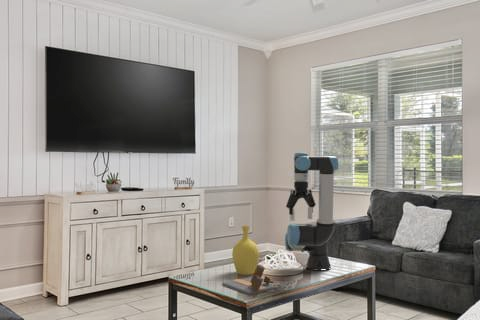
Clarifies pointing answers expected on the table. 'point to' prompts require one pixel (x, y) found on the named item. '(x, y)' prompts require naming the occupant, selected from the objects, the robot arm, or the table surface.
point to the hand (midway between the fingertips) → (301, 219)
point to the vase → (245, 254)
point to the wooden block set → (258, 278)
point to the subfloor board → (247, 286)
